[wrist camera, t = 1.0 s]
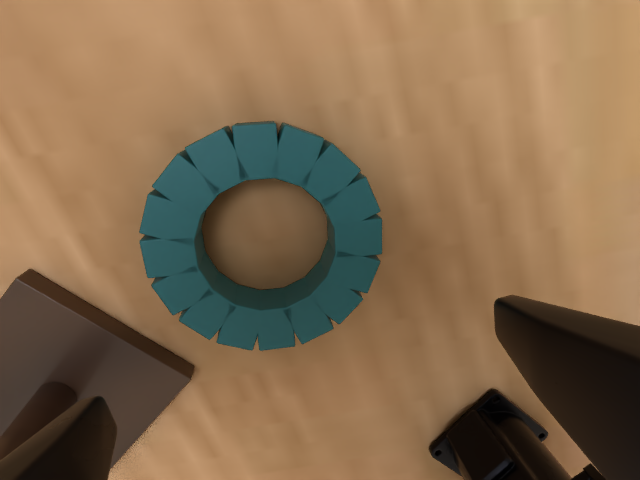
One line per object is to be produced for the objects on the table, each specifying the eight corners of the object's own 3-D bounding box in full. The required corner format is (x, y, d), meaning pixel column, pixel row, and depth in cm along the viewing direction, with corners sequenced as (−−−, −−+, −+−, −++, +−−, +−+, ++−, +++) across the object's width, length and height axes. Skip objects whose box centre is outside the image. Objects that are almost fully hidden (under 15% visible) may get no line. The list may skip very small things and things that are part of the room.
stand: (194, 366, 23) (164, 485, 16) (97, 475, 24) (28, 629, 17) (29, 268, 20) (-105, 361, 13) (-71, 400, 21) (-242, 551, 14)
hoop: (410, 219, 22) (428, 232, 20) (279, 359, 24) (281, 385, 21) (249, 69, 18) (247, 64, 16) (108, 247, 20) (89, 265, 18)
